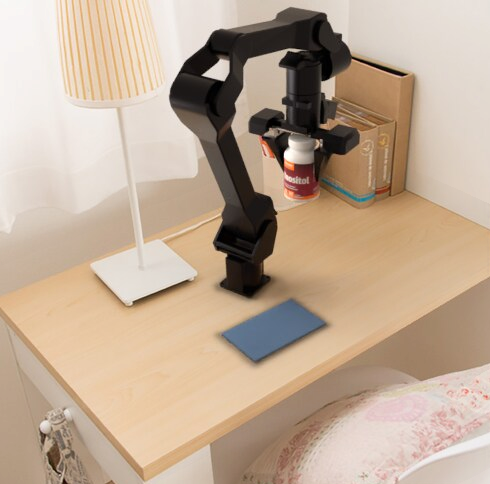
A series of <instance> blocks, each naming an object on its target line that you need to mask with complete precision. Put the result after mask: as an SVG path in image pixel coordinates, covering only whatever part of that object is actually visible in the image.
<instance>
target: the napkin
mask: <svg viewBox="0 0 490 484" xmlns="http://www.w3.org/2000/svg"><path fill="white" fill-rule="evenodd" d="M326 325H327V322H326V321H324V320H323V319H321V318H320V317H318V315H315V314H314V313H312V312H311V311H309V310H308V309H306V308H305V307H304V306H303V305H301V304H300V303H298V302H297V301H295V300H294V299H293V298H290V299H287V300H286V301H283V302H282V303H279V304H278V305H275V306H274V307H272V308H270V309H268V310H266V311H263V312H261V313H260V314H258V315H256V316H254V317H251V318H249V319H248V320H246V321H243V322H242V323H239V324H237V325H235V326H233V327H231V328H230V329H228V330H227V329H226V330H225V331H223V332H222V333H221V336H222V337H223V338H224V339H226V340H227V341H228V342H229V343H230V344H231V345H233V346H234V347H235V348H237V350H239V351H240V352H241V353H242V354H244V356H246V357H247V358H249V359H250V360H251V361H252V362H253V363H255V364H256V363H257V362H260V361H261V360H264V359H265V358H267V357H269V356H270V355H272V354H274V353H276V352H278V351H280V350H281V349H284V348H285V347H288V346H289V345H291V344H293V343H294V342H297V341H298V340H301V339H302V338H304V337H306V336H308V335H310V334H312V333H313V332H315V331H317V330H319V329H321V328H322V327H325V326H326Z"/></svg>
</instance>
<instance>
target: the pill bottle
mask: <svg viewBox="0 0 490 484" xmlns="http://www.w3.org/2000/svg"><path fill="white" fill-rule="evenodd" d="M288 144H289V147H288V148H287V149H286V150H285V152H284V173H283V195H284V197H285V199H287V200H289V201H290V202H294V203H311V202H313V201H315V200H317V198H318V197H319V194H320V181H319V182H316V179H315V168H314V150H315V149H317V148H318V147H317V139H313V138H309V137H305V136H301V135H296V134H292V133H291V135H290V136H289V142H288Z"/></svg>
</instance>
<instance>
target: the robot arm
mask: <svg viewBox="0 0 490 484" xmlns="http://www.w3.org/2000/svg"><path fill="white" fill-rule="evenodd" d="M288 49H290V50H288ZM285 50H287V51H286V53H285V55H284V56H283V57H282V58H281V59H280V61H279V62H278V67H279V68H282V69H285V95H284V96H283V97H282V98H281V105H283V106H285V113H284V112H283V111H281V110H278V109H274V108H268V107H264V108H263V109H261V110H259V111H258V112H256V113H254V114H252V115H251V116H250V117H249V119H248V122H247V125H248V126H247V128H248V130H247V131H248V133H249V134H251V135H256V136H260V138H261V140H262V141H264V143H266V145H267V146H268V148H269V149H270V150H271V153H272V154H273V156H274V158H275V159H276V161H277V164H278V165H279V168H280V169H281V170H282V173H283V174H284V152H285V150H286V149H287V148H288V147H289V144H288V142H289V136H290V135H291V134H296V135H301V136H305V137H309V138H313V139H316V141H318V140H319V142H320V145H319V146H318V147H316V148H317V149H315V150H314V168H315V179H316V182H319V183H320V181H321V180H322V178H323V176H324V174H325V171H326V170H327V169H326V168H327V167H328V165H329V162H330V160H331V158H332V156H333V155H338V156H346V155H347V154H348V153H350V152H351V151H352V150H353V149H355V148H356V147H357V146H358V145H360V141H361V134H360V131H359V130H358V128H357V127H353V126H349V125H344V124H340V123H338V124H336V125H335V126H333V127H332V128H331V129H327V128H323V127H321V125H326V124H327V123H328V120H331V121H335V120H336V115H337V110H338V106H339V101H337V100H332V99H328V98H326V97H327V96H326V93H325V92H322V82H326V81H329V80H331V79H333V78H334V77H336V76H338V75H340V74H342V73H344V72H346V71H347V70H348V69H349V68H350V66H351V64H352V59H353V55H352V54H351V49H350V48H349V46H348V45H347V43H346V42H345V41H343V34H342V33H341V32H335V31H334V29H333V27H332V25H331V23H330V21H329V19H328V14H327V13H326V12H323V11H318V10H317V11H316V10H311V9H305V8H301V7H294V6H289V7H287V8H285V9H283V10H281V11H279V12H277V13H276V15H275V18H274V19H270V20H267V21H261V22H256V23H251V24H247V25H241V26H236V27H231V28H219V29H215V30H213V31H212V32H211V34H210V35H209V37H208V39H207V41H206V42H205V44H204V45H203V46H202V47H200V48H199V49H198V50H197V51H195V53H193V54H191V56H189V57H188V58H187V59H185V61H184V62H183V64H182V65H181V67H180V70H179V71H178V73H177V75H176V77H175V78H174V80H173V81H172V83H171V86H170V88H169V94H168V101H169V104H170V107H171V109H172V111H173V112H174V114H175V116H176V117H177V118H178V120H179V121H180V122H181V124H182V125H184V126H185V127H186V128H187V129H188V130H189V131H190V132H191V133H193V134H194V135H195V136H196V137H197V139H198V141H199V143H200V145H201V148H202V150H203V152H204V155H205V157H206V160H207V162H208V164H209V167H210V169H211V172H212V174H213V176H214V179H215V181H216V184H217V186H218V189H219V191H220V193H221V196H222V198H223V201H224V206H223V209H222V211H221V213H220V215H221V220H222V221H221V223H220V225H219V227H218V229H217V231H216V234H215V235H214V238H213V240H212V245H213V247H214V250H215V251H216V252H221V253H223V254H225V255H226V256H225V257H224V260H225V262H224V263H225V278H223V279H222V280H221V281H220V282H219V287H220V288H224V289H225V290H228V291H231V292H233V293H236V294H239V295H242V296H244V297H247V298H252V297H254V295H256V294H257V293H258V292H259V291H260V290H262V288H263V287H265V286H266V285H267V284H268V283H270V282H271V280H272V277H271V276H270V275H268V274H265V273H264V272H265V265H264V264H265V260H267V259H268V258H269V257H270V256H272V255H273V254H274V248H275V244H276V239H277V233H278V219H277V215H279V213H278V211H277V210H276V209H275V206H274V200H273V199H272V197H271V196H270V195H268V194H264V193H262V192H258V191H256V190H255V188H254V185H253V182H252V180H251V177H250V175H249V172H248V169H247V166H246V163H245V161H244V157H243V155H242V152H241V150H240V147H239V144H238V141H237V139H236V136H235V133H234V130H233V128H232V125H233V123H234V119H235V117H236V114H237V107H236V102H237V100H238V99H239V97H240V95H241V93H242V91H243V89H244V87H245V86H244V83H245V82H244V68H245V66H246V64H247V62H248V60H249V59H254V58H257V57H260V56H264V55H269V54H274V53H277V52H281V51H285ZM291 50H297V51H291ZM220 60H223V61H226V62H228V64H229V65H228V68H229V70H228V74H226V75H227V76H226V77H225V79H224V80H221V79H217V78H213V77H209V76H205V74H206V73H207V72H208V71H209V70H211V69H212V68H213V67H215V65H217V64H218V63H219V62H220Z"/></svg>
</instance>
